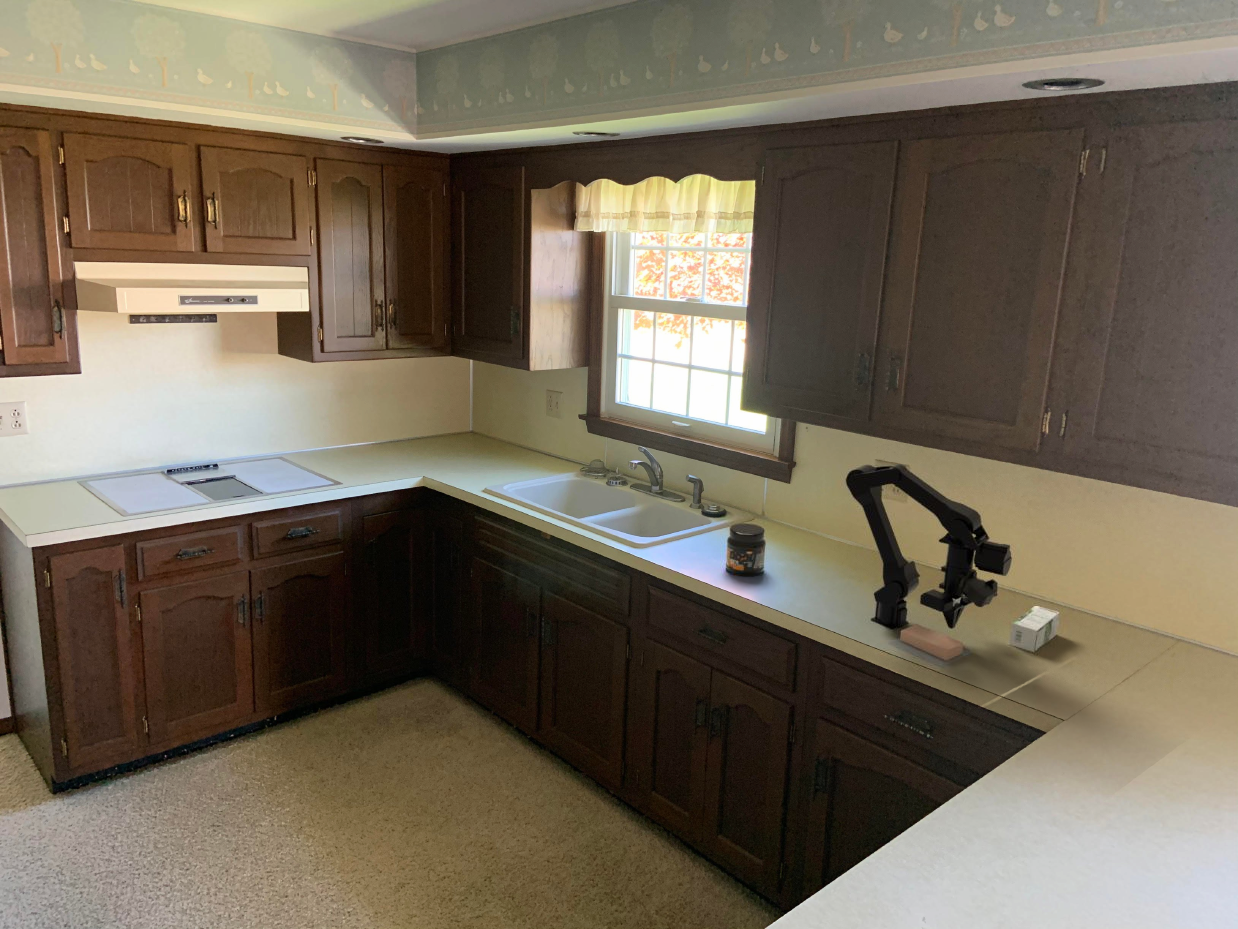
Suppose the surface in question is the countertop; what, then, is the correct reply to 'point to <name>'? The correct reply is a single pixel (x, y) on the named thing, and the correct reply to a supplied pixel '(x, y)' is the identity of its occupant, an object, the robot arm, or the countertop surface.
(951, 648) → the tile
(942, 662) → the mat
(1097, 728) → the countertop surface
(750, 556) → the supplement container
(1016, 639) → the syrup box
